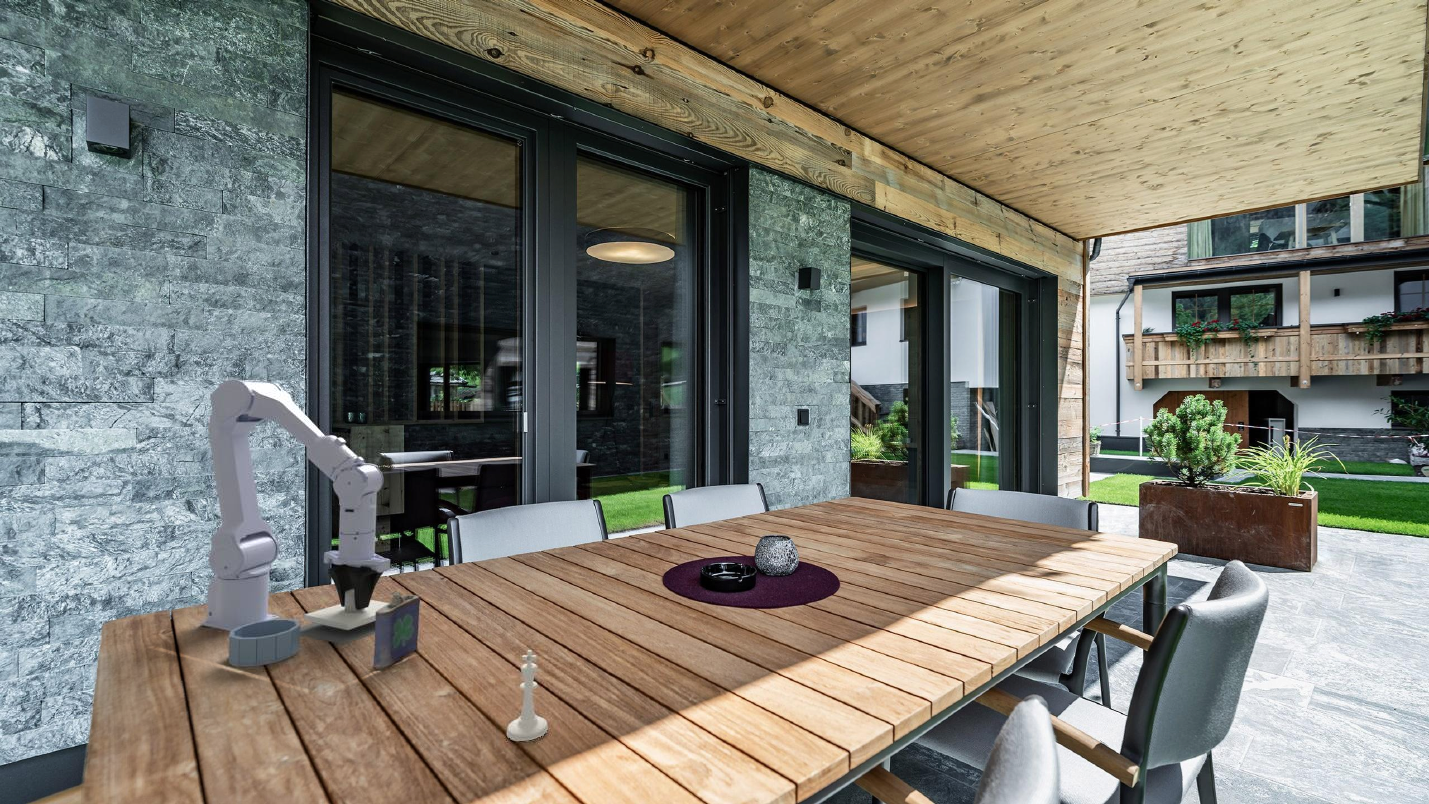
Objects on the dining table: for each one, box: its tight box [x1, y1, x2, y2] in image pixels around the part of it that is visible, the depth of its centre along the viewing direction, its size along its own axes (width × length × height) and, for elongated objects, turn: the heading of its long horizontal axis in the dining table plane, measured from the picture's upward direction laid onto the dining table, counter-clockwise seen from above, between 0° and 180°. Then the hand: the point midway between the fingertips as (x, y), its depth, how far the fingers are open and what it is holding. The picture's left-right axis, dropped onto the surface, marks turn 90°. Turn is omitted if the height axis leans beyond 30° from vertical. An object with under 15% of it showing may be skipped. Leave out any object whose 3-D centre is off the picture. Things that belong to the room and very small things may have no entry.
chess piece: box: [506, 649, 549, 742], centre depth 77 cm, size 5×5×10 cm
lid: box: [303, 589, 391, 630], centre depth 112 cm, size 11×11×4 cm
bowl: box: [228, 618, 301, 668], centre depth 97 cm, size 9×9×4 cm
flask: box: [373, 590, 421, 672], centre depth 98 cm, size 9×3×11 cm, turn 172°
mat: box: [300, 621, 375, 646], centre depth 112 cm, size 14×15×1 cm
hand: (354, 606), depth 112 cm, fingers closed on lid, 3 cm apart
